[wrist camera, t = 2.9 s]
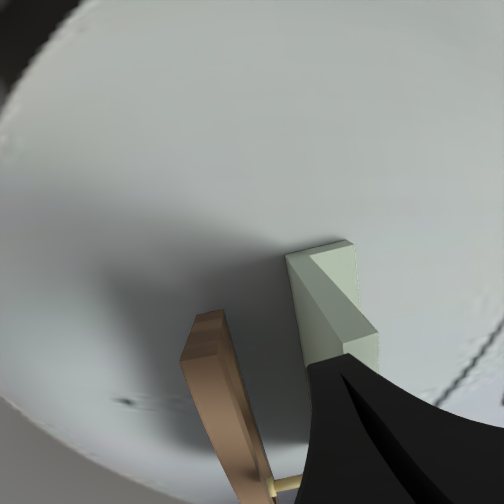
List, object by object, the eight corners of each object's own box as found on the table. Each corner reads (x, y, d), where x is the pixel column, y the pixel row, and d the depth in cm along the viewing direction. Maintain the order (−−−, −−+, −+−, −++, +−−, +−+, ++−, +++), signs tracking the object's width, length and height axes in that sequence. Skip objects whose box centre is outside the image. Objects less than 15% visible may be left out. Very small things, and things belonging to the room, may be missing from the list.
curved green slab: (358, 430, 23) (397, 513, 13) (274, 453, 23) (292, 545, 13) (346, 239, 18) (447, 306, 9) (221, 269, 18) (217, 373, 8)
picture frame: (275, 481, 20) (283, 536, 14) (256, 485, 20) (260, 539, 14) (223, 309, 18) (217, 354, 12) (196, 314, 18) (179, 361, 12)
